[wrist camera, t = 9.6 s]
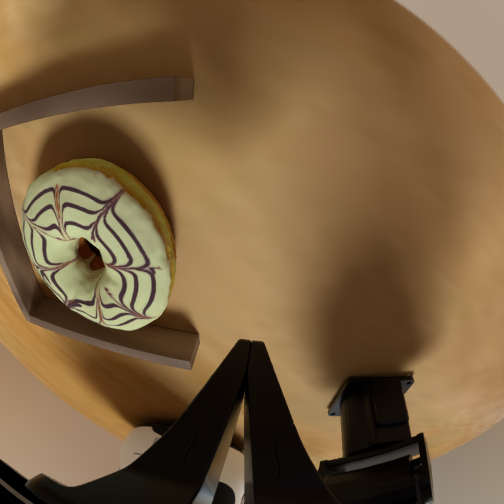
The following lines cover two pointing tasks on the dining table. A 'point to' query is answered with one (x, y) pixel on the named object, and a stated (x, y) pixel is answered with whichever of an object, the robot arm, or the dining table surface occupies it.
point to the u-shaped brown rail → (15, 256)
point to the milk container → (231, 476)
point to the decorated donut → (100, 242)
